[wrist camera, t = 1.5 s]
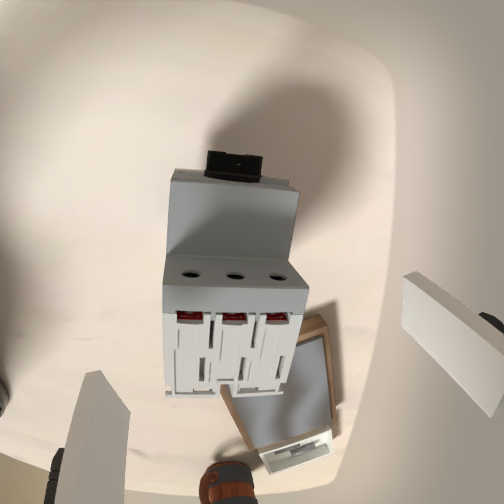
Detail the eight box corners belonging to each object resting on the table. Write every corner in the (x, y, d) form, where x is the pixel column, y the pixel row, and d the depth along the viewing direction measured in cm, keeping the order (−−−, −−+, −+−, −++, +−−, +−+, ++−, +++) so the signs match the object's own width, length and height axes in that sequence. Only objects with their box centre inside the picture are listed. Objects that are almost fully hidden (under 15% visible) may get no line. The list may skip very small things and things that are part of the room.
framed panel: (246, 438, 42) (250, 453, 39) (205, 351, 34) (207, 368, 31) (330, 410, 43) (337, 423, 41) (319, 314, 36) (329, 327, 33)
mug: (214, 449, 42) (225, 509, 31) (259, 467, 46) (274, 518, 36) (178, 467, 42) (184, 523, 31) (225, 484, 47) (235, 532, 36)
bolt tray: (266, 463, 46) (269, 474, 44) (255, 441, 43) (258, 454, 40) (328, 442, 47) (333, 452, 45) (325, 417, 44) (331, 429, 41)
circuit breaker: (259, 154, 28) (332, 170, 14) (241, 293, 32) (282, 396, 19) (178, 146, 26) (170, 151, 12) (169, 290, 31) (165, 400, 17)
